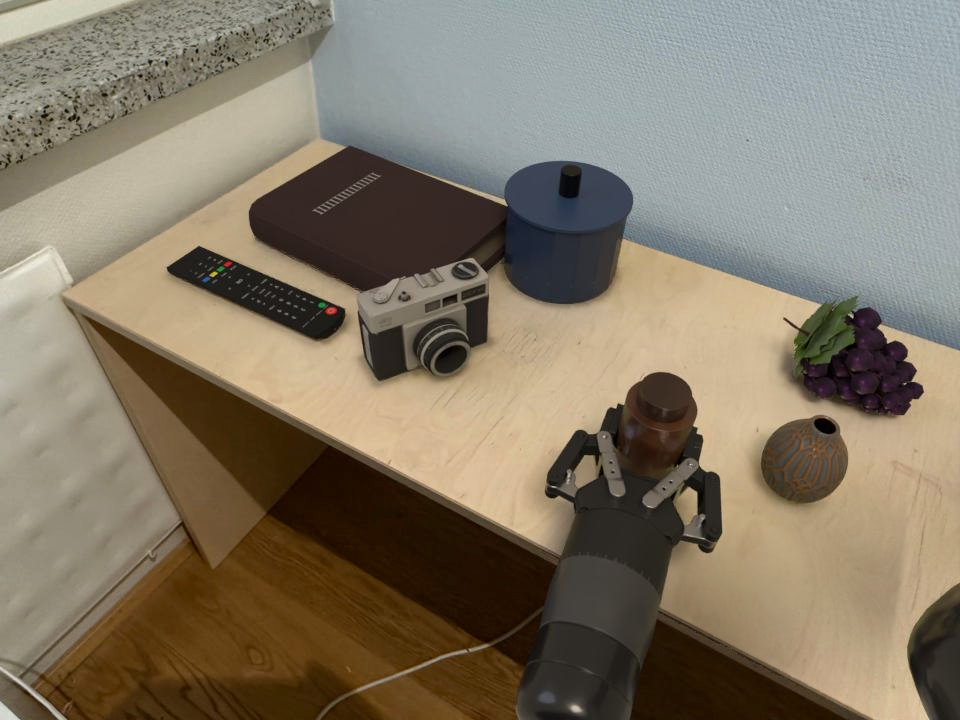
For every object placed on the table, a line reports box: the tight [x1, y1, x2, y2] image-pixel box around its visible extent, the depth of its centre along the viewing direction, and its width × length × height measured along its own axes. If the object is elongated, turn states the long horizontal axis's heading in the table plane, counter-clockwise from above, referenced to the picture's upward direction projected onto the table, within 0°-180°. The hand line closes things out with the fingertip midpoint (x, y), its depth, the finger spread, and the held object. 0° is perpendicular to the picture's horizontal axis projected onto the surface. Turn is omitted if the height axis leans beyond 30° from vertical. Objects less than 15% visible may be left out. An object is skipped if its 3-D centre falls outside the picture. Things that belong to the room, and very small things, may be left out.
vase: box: [760, 414, 849, 504], centre depth 60 cm, size 7×7×9 cm
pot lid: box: [503, 160, 634, 234], centre depth 77 cm, size 15×15×4 cm
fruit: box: [782, 294, 925, 417], centre depth 69 cm, size 10×11×15 cm
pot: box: [503, 205, 628, 305], centre depth 82 cm, size 14×14×10 cm
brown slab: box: [248, 145, 507, 292], centre depth 86 cm, size 28×20×6 cm
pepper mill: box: [613, 371, 698, 482], centre depth 57 cm, size 6×6×14 cm
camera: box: [356, 258, 490, 382], centre depth 70 cm, size 14×9×10 cm, turn 111°
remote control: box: [165, 245, 346, 341], centre depth 80 cm, size 5×24×1 cm, turn 60°
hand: (654, 421), depth 58 cm, fingers closed on pepper mill, 5 cm apart
